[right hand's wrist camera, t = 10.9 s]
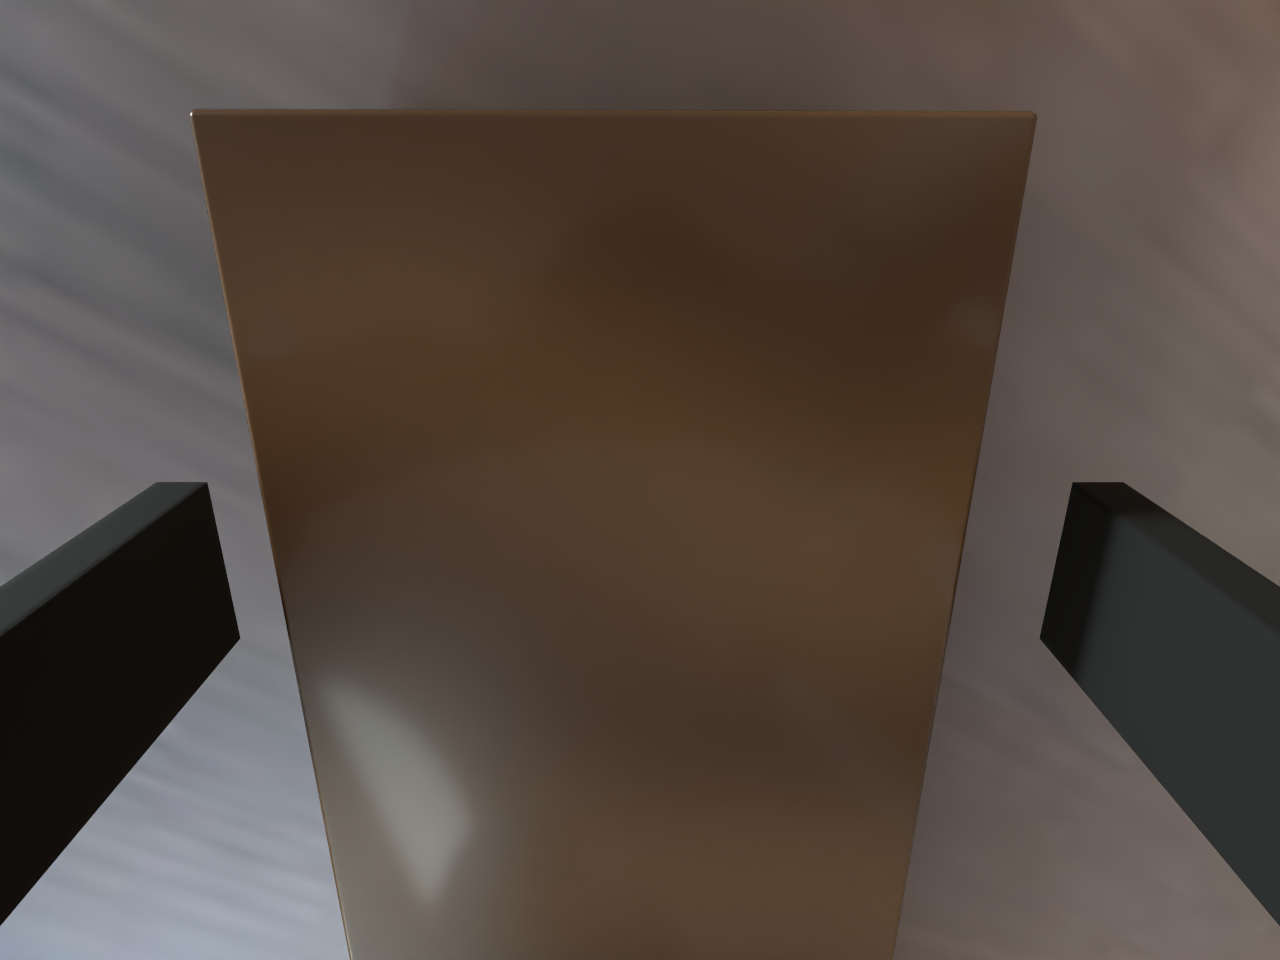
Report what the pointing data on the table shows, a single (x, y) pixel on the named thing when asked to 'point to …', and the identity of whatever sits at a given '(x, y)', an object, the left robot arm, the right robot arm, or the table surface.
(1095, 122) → the table surface
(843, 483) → the brown wooden beam
